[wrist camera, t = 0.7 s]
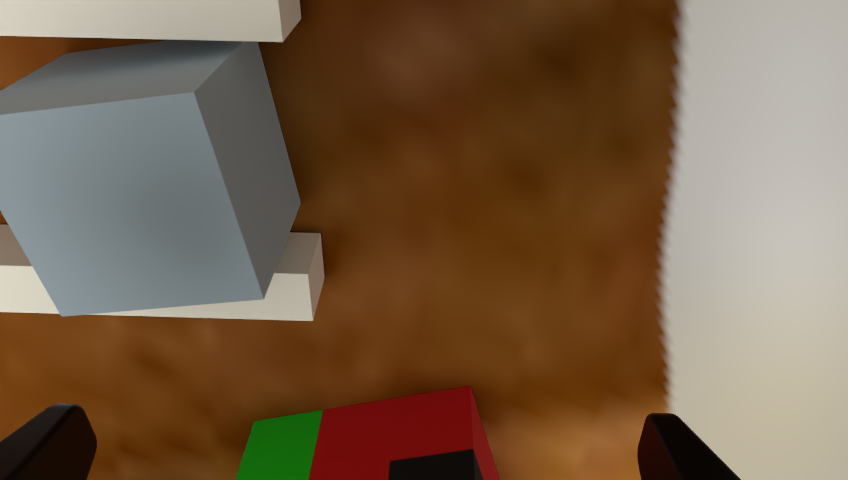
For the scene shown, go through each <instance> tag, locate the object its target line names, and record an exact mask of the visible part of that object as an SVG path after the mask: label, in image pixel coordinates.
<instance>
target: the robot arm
mask: <svg viewBox="0 0 848 480" xmlns="http://www.w3.org/2000/svg"><path fill="white" fill-rule="evenodd" d="M96 448H97V440H96V436H95V433H94V431H93V429H92V427H91V424H90V422H89V420H88V418H87V415H86V413H85V411H84V409H83V408H82V407H81V406H80V405H77V404H55V405H52V406H50V407H48V408H46V409H45V410H44V411H42V412H41V413H39V414H38V415H37V416H35V417H34V418H33V419H31V420H30V421H28V422H27V423H26V424H24V425H23V426H21V427H20V428H19V429H17V430H16V431H14V432H13V433H12V434H10V435H9V436H7V437H6V438H5V439H3V440H2V441H0V480H87V477H88V474H89V471H90V468H91V465H92V462H93V459H94V456H95V453H96ZM638 464H639V470H640V475H641V480H741V479H740V478H739V477H738V476H737V475H736V474H735V473H734V472H733V471H732V470H731V469H730V468H729V467H728V466H727V465H726V464H725V463H724V462H723V461H722V460H721V459H720V458H719V457H718V456H717V455H716V454H715V453H714V452H713V451H712V450H711V449H710V448H709V447H708V446H707V445H706V444H705V443H704V442H703V441H702V440H701V439H700V438H699V437H698V436H697V435H696V434H695V433H694V432H693V431H692V430H691V429H690V428H689V427H688V426H687V425H686V424H685V423H684V422H683V421H682V420H681V419H680V418H679V417H678V416H676V415H674V414H670V413H651V414H649V415H648V416H647V417H646V420H645V423H644V427H643V431H642V434H641V438H640V441H639V445H638Z"/></svg>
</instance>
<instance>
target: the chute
mask: <svg viewBox="0 0 848 480" xmlns="http://www.w3.org/2000/svg"><path fill="white" fill-rule="evenodd" d="M300 20H301V10H300V0H0V36H38V37H81V38H125V39H169V40H212V41H256V42H283V41H284V40H285V39H286V37H287V36H288V35H289V34H290V32H291V31H292V30H293V29H294V27H295V26H296V25H297V23H298V22H299V21H300ZM324 278H325V276H324V265H323V254H322V243H321V233H295V232H290V233H289V235H288V238H287V241H286V243H285V246H284V248H283V251H282V254H281V256H280V259H279V261H278V264H277V267H276V269H275V272H274V274H273V277H272V280H271V282H270V285H269V287H268V290H267V293H266V295H265V298H264V299H262V300H251V301H239V302H227V303H215V304H204V305H192V306H180V307H168V308H157V309H145V310H133V311H121V312H109V313H98V314H90V315H124V316H158V317H192V318H226V319H260V320H294V321H313V319H314V315H315V312H316V308H317V304H318V300H319V297H320V293H321V289H322V286H323V282H324ZM0 312H22V313H56V314H60V313H59V312H58V310H57V308H56V306H55V305H54V303H53V301H52V299H51V298H50V296H49V294H48V293H47V291H46V289H45V287H44V286H43V284H42V282H41V280H40V279H39V277H38V275H37V273H36V272H35V270H34V268H33V266H32V265H31V263H30V261H29V260H28V258H27V256H26V254H25V253H24V251H23V249H22V247H21V246H20V244H19V242H18V240H17V239H16V237H15V235H14V233H13V232H12V230H11V228H10V226H9V225H2V224H0Z"/></svg>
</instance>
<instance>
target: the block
mask: <svg viewBox="0 0 848 480" xmlns="http://www.w3.org/2000/svg"><path fill="white" fill-rule="evenodd" d="M300 204H301V202H300V198H299V194H298V190H297V187H296V183H295V179H294V175H293V172H292V168H291V164H290V160H289V157H288V153H287V149H286V145H285V142H284V138H283V134H282V131H281V127H280V123H279V119H278V116H277V112H276V108H275V104H274V101H273V97H272V93H271V89H270V86H269V82H268V78H267V74H266V71H265V67H264V63H263V60H262V56H261V52H260V48H259V45H258V42H256V41H212V40H166V41H158V42H150V43H142V44H134V45H126V46H118V47H110V48H102V49H94V50H86V51H78V52H70V53H65V54H63V55H62V56H60V57H58V58H56V59H55V60H53V61H51V62H50V63H48V64H46V65H44V66H43V67H41V68H39V69H37V70H36V71H34V72H32V73H31V74H29V75H27V76H25V77H24V78H22V79H20V80H18V81H17V82H15V83H13V84H12V85H10V86H8V87H6V88H5V89H3V90H1V91H0V211H1V213H2V214H3V216H4V218H5V220H6V221H7V223H8V225H9V226H10V228H11V230H12V232H13V233H14V235H15V237H16V239H17V240H18V242H19V244H20V246H21V247H22V249H23V251H24V253H25V254H26V256H27V258H28V260H29V261H30V263H31V265H32V266H33V268H34V270H35V272H36V273H37V275H38V277H39V279H40V280H41V282H42V284H43V286H44V287H45V289H46V291H47V293H48V294H49V296H50V298H51V299H52V301H53V303H54V305H55V306H56V308H57V310H58V312H59V313H60V315H61V317H62V316H74V315H86V314H98V313H109V312H121V311H133V310H145V309H157V308H168V307H180V306H192V305H204V304H215V303H227V302H239V301H251V300H262V299H264V298H265V295H266V293H267V290H268V287H269V285H270V282H271V280H272V277H273V274H274V272H275V269H276V267H277V264H278V261H279V259H280V256H281V254H282V251H283V248H284V246H285V243H286V241H287V238H288V235H289V233H290V230H291V228H292V225H293V222H294V220H295V217H296V215H297V212H298V209H299V207H300Z"/></svg>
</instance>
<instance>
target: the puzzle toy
mask: <svg viewBox="0 0 848 480" xmlns="http://www.w3.org/2000/svg"><path fill="white" fill-rule="evenodd" d="M235 480H500V479H499V476H498V473H497V470H496V466H495V463H494V460H493V457H492V454H491V450H490V447H489V444H488V441H487V437H486V434H485V431H484V428H483V425H482V421H481V418H480V415H479V412H478V408H477V405H476V402H475V399H474V396H473V392H472V389H471V386H466V387H460V388H454V389H448V390H442V391H436V392H429V393H423V394H417V395H411V396H405V397H399V398H393V399H387V400H381V401H375V402H369V403H363V404H356V405H350V406H344V407H338V408H332V409H326V410H320V411H314V412H308V413H302V414H296V415H289V416H283V417H277V418H271V419H265V420H259V421H254V423H253V427H252V430H251V433H250V436H249V439H248V442H247V445H246V448H245V451H244V454H243V457H242V460H241V464H240V467H239V470H238V473H237V476H236V479H235Z"/></svg>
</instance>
